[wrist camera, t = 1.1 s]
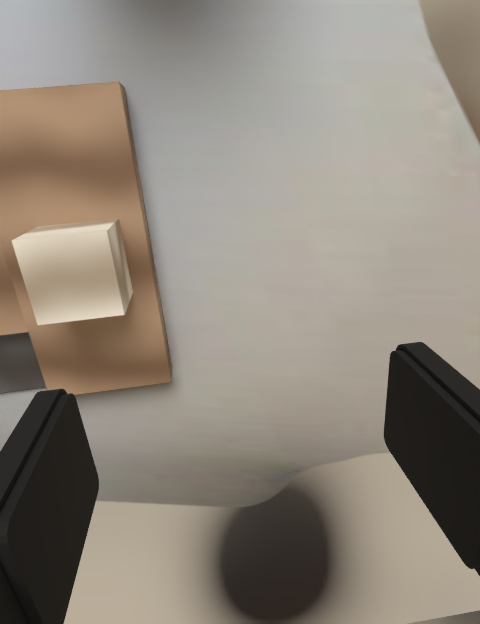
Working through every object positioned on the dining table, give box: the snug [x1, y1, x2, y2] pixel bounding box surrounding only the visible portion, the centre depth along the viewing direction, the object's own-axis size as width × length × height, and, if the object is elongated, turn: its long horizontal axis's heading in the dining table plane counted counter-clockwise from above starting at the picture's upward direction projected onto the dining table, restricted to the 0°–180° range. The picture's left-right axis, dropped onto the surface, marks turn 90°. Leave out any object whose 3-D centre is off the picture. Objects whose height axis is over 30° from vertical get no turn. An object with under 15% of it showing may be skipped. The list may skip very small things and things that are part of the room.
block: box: [12, 219, 133, 325], centre depth 24 cm, size 5×5×4 cm
